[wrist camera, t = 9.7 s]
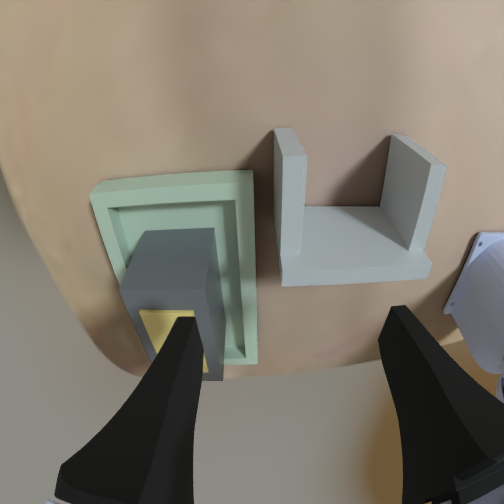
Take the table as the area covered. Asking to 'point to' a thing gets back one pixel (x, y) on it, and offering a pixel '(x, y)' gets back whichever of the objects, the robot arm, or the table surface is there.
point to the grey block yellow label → (177, 291)
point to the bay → (355, 220)
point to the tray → (186, 217)
